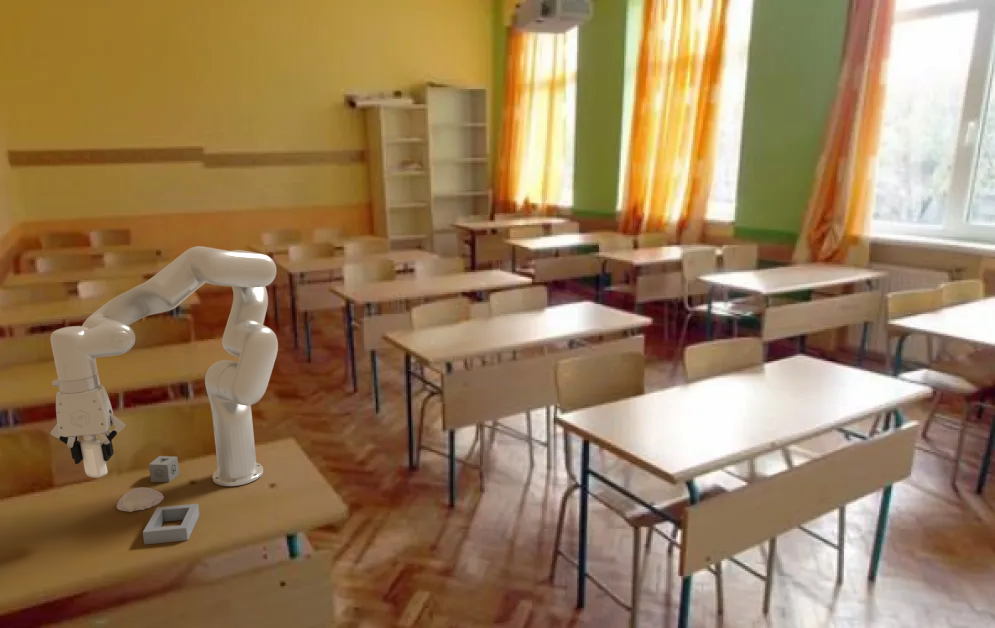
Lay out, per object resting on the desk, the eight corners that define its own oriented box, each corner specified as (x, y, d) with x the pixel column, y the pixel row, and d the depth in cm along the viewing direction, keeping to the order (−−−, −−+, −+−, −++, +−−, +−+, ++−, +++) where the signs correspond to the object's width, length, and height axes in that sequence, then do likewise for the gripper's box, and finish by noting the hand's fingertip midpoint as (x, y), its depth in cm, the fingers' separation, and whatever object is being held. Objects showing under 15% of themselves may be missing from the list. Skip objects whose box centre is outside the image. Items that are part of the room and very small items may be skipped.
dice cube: (179, 473, 186) (177, 456, 185) (169, 482, 182) (167, 464, 180) (161, 473, 187) (159, 456, 186) (151, 482, 182) (148, 464, 181)
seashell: (105, 503, 165) (123, 476, 174) (111, 521, 167) (129, 493, 176) (149, 501, 165) (165, 474, 174) (155, 519, 168) (170, 491, 177)
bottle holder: (158, 518, 164) (157, 507, 163) (199, 515, 165) (198, 503, 164) (144, 544, 153) (142, 532, 152) (187, 540, 155) (186, 528, 154)
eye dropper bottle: (85, 481, 153) (75, 430, 150) (85, 471, 158) (75, 421, 155) (108, 476, 155) (98, 426, 152) (107, 466, 160) (98, 417, 157)
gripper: (28, 393, 146) (44, 471, 151) (116, 386, 149) (129, 463, 153) (44, 380, 153) (59, 456, 158) (127, 374, 156) (140, 448, 161)
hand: (93, 459), depth 156 cm, fingers closed on eye dropper bottle, 5 cm apart
